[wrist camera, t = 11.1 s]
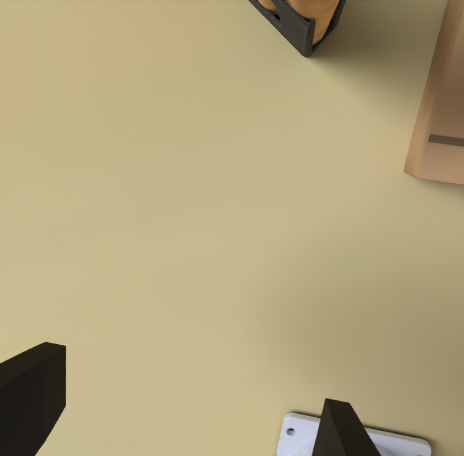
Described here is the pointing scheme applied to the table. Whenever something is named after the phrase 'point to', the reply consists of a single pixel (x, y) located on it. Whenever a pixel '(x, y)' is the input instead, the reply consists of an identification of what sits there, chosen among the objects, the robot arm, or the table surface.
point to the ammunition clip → (302, 20)
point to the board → (442, 107)
